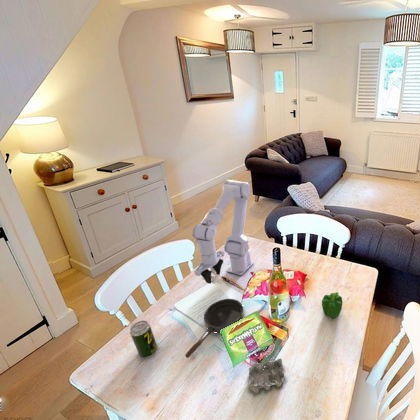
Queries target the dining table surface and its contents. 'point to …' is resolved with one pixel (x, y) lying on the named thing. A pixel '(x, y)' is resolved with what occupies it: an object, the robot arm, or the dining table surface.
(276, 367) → the egg carton
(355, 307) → the dining table surface
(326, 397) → the dining table surface
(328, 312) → the bell pepper
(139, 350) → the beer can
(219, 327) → the pan
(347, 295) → the dining table surface
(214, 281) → the rabbit figurine
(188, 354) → the pan handle
